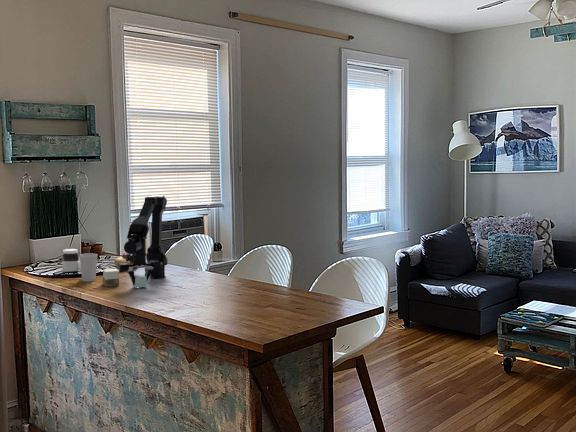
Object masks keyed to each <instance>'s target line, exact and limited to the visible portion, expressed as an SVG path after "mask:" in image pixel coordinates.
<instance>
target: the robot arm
mask: <svg viewBox="0 0 576 432" xmlns="http://www.w3.org/2000/svg"><path fill="white" fill-rule="evenodd" d="M167 203H168V200H167V197H165V195H152V194H151V195H150V196H145V197H144V202H143V205H142V207H141V209H140V211H139V214H138V216H137V217H136V218H134V219H133V220H132V222H131V224H130V225H129V229H128V232H127V235H126V239H128V240H127V241H126V242H125V244H124V246H123V250H124V251H125V252H124V253H125V254H126V262H129V261H130V264H127V263H118V264H117V270H119V272H126V273H127V274H128V275H129V278H130V281H131V283H132V284H133V285H134V284H135V279H134V275H135V271H134V269H133V268H135V269H140V268H144V275H145V276H146V277H147V282H148V281H149V279H150V278H151V279H153V278H155V279H163V278H162V277H165V278H166V276H167V275H165V273H166V272H165V271H166V269H165V267H166V266H167V265H168V260H169V259H168V257H167V255H166V253H165V250H166V249H165V248H164V246H163V244H162V226H163V213H164V212H165V210H166V206H167ZM150 218H151V235H150V236H151V238H150V239H151V241H150V245H149V247H147V242H146V241H147V236H148V234H149V231H150V226H149V220H150ZM132 284H131V285H132Z"/></svg>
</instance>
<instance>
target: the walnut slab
mask: <svg viewBox="0 0 576 432" xmlns="http://www.w3.org/2000/svg"><path fill="white" fill-rule="evenodd" d="M102 285H103V286H104V285H105V286H110V287H115V286H114V285H119V286H120V278H119V279H107V280H106V279H105V278H104V277H102ZM105 286H104V287H105Z"/></svg>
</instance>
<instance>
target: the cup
mask: <svg viewBox="0 0 576 432" xmlns="http://www.w3.org/2000/svg"><path fill="white" fill-rule="evenodd" d="M78 256H79V261H80V263H81V272H80V273H81V281H82V282H95V281H97V280H96V279H97V264H98V263H97V261H98V254H97V253H90V252H89V253H81V254H78Z"/></svg>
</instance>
